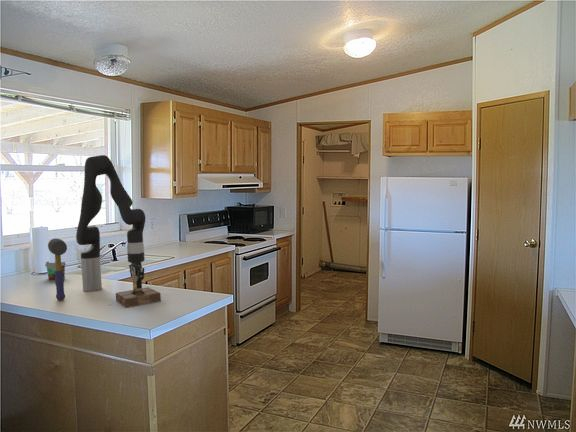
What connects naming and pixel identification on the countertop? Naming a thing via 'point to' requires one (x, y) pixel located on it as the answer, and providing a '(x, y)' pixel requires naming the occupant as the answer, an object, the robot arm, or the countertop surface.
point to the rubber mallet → (58, 265)
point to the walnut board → (138, 297)
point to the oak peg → (135, 285)
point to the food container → (54, 269)
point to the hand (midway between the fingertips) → (137, 287)
